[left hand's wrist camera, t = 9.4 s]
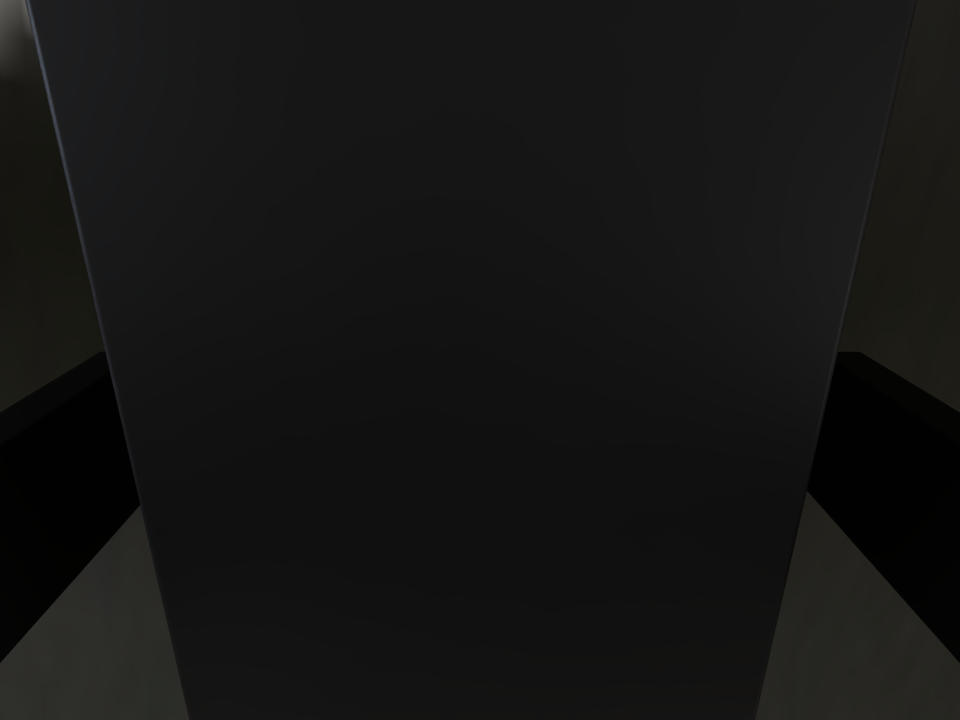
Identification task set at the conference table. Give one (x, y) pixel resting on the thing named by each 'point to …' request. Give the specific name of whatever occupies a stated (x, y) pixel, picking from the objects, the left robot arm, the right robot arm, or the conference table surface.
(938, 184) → the conference table surface
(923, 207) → the conference table surface
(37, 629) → the conference table surface
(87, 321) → the conference table surface
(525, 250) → the bar
